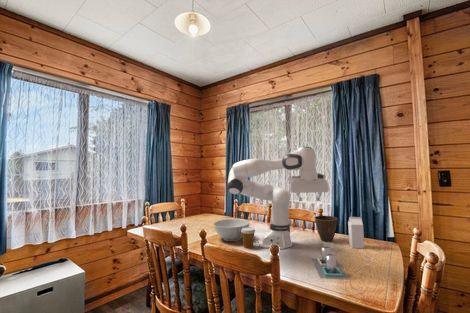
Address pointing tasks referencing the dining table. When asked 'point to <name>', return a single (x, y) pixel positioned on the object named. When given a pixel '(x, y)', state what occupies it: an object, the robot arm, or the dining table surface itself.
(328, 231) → the plant pot
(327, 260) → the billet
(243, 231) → the disposable coffee cup
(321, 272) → the grey flat plate
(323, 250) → the grey tall round-topped piece
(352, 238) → the milk carton
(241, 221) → the decorative bowl
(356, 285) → the dining table surface
